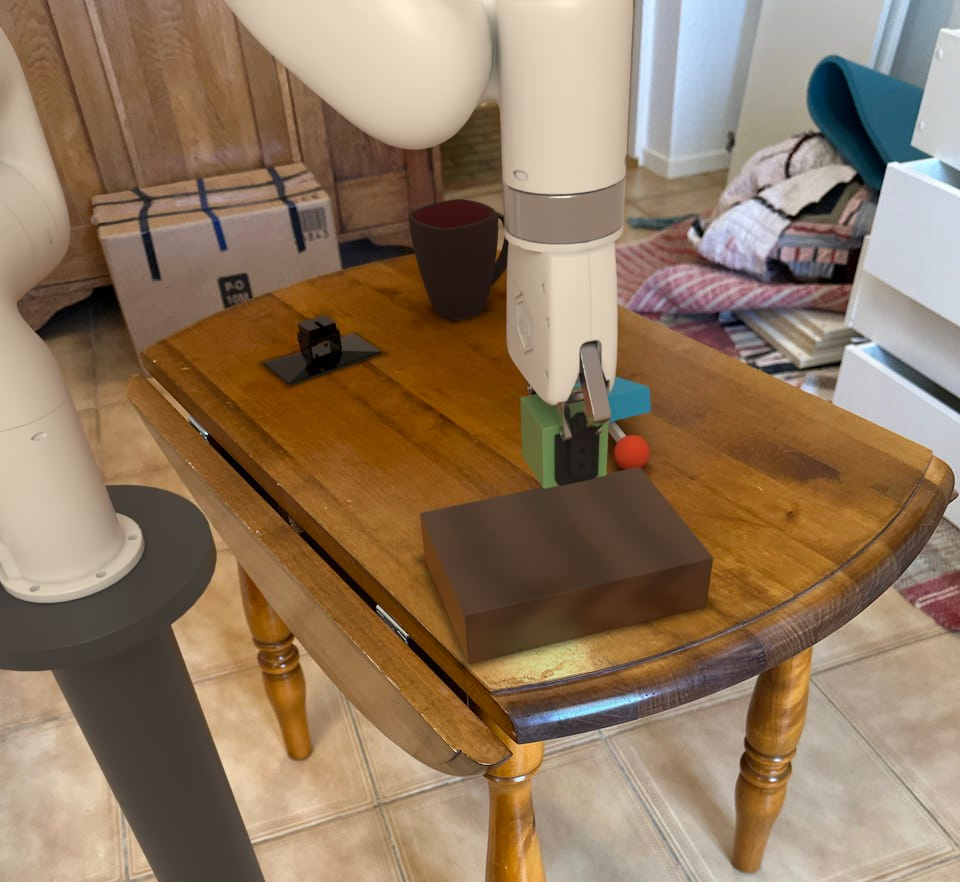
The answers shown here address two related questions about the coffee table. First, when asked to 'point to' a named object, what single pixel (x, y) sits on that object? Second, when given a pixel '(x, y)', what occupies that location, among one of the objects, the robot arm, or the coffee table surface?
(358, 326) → the coffee table surface
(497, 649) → the block
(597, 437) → the robot arm
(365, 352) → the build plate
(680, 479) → the coffee table surface
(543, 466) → the green toy block
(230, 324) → the coffee table surface
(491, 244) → the cup
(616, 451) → the lever
